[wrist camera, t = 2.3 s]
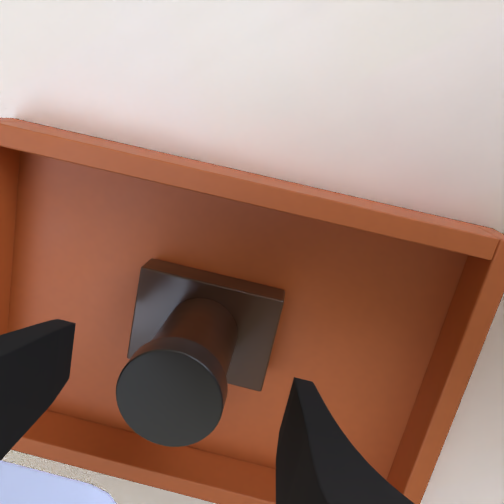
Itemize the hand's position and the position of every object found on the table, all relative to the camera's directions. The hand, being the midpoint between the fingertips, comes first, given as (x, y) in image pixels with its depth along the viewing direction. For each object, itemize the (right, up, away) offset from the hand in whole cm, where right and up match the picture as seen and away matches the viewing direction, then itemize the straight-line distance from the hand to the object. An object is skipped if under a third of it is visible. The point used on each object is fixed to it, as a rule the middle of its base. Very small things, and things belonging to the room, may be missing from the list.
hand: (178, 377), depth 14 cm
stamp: (+1, +1, +5) cm, 5 cm away
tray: (+1, +1, +5) cm, 6 cm away
